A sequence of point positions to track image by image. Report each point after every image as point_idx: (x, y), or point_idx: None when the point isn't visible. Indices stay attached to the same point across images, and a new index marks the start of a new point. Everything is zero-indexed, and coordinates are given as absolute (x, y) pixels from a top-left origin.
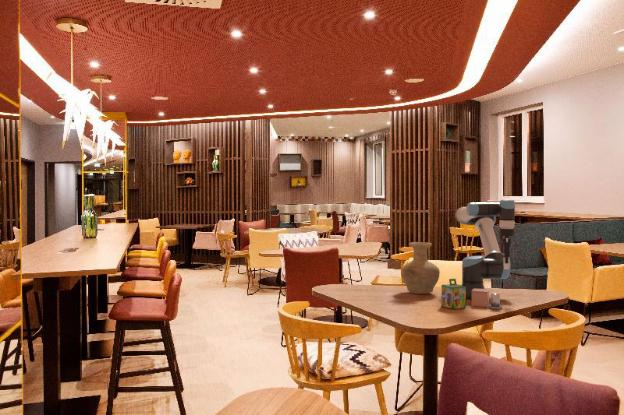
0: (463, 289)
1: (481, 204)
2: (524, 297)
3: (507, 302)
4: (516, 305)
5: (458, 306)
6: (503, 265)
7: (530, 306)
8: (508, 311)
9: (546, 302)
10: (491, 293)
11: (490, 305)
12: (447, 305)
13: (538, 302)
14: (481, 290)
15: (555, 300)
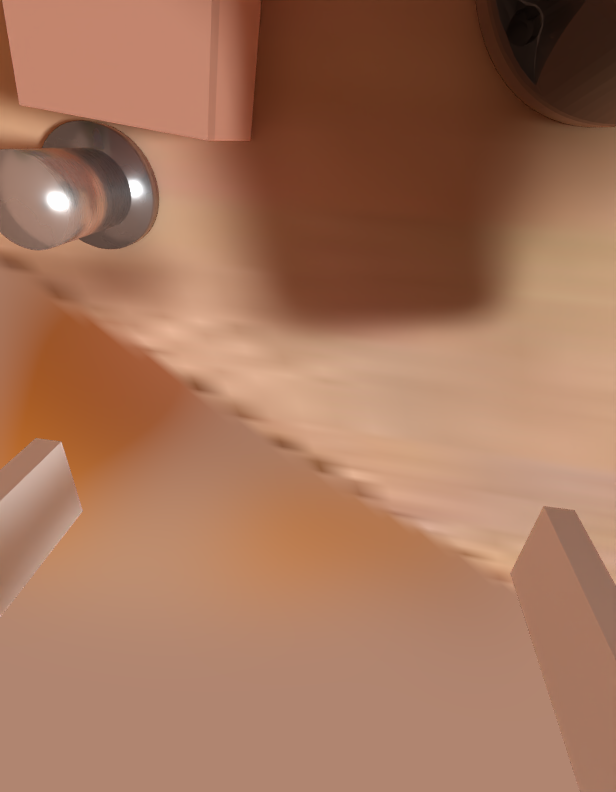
0: None
1: None
2: (598, 452)
3: (375, 310)
4: (274, 357)
5: None
6: (545, 508)
7: (269, 432)
8: (40, 278)
9: (422, 528)
10: (9, 156)
11: (104, 145)
12: None
13: (414, 493)
14: (73, 10)
15: (491, 575)
